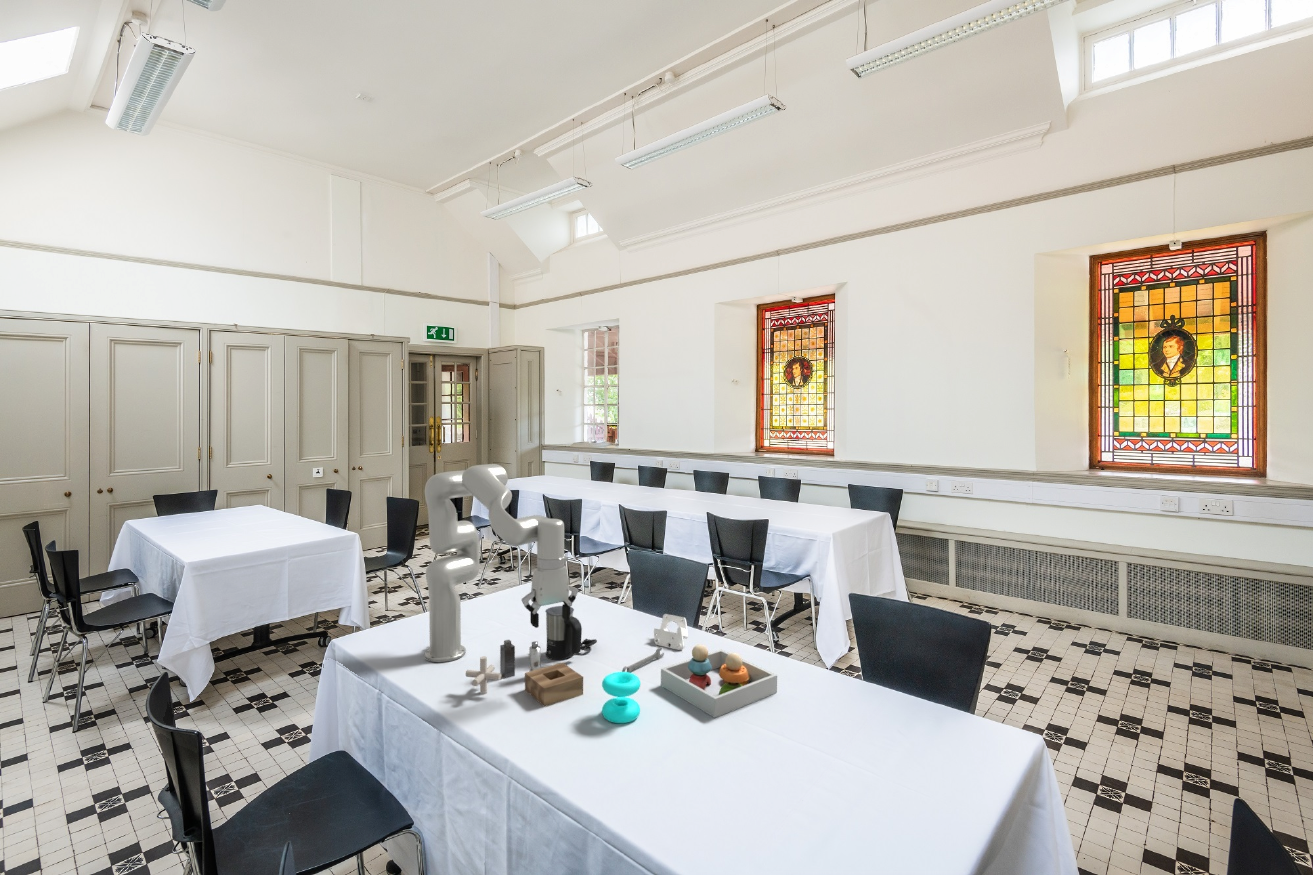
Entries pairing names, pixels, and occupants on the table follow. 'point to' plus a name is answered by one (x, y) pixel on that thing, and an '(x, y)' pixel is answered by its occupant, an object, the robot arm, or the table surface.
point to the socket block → (553, 684)
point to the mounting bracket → (668, 637)
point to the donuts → (621, 697)
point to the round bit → (534, 656)
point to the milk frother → (564, 635)
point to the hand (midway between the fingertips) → (550, 622)
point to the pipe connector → (483, 675)
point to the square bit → (507, 659)
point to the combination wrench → (644, 660)
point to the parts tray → (726, 702)
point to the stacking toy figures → (729, 672)
